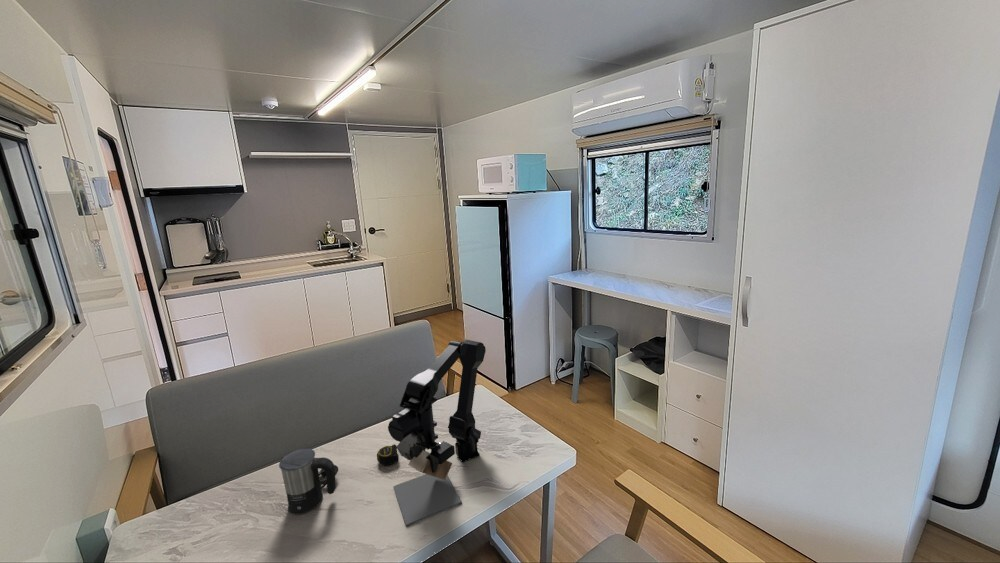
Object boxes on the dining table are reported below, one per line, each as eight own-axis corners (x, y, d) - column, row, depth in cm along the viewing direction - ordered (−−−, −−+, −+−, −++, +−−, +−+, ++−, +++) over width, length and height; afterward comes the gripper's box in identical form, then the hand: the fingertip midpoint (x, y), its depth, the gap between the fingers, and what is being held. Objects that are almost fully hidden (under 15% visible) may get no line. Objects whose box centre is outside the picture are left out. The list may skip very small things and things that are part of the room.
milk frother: (286, 520, 105) (277, 474, 102) (290, 483, 119) (282, 441, 116) (341, 501, 111) (334, 457, 108) (339, 468, 125) (332, 428, 122)
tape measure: (399, 464, 126) (398, 454, 125) (377, 469, 124) (376, 459, 123) (398, 451, 132) (397, 442, 131) (377, 456, 130) (376, 447, 129)
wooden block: (441, 457, 120) (416, 447, 111) (452, 463, 117) (428, 453, 108) (433, 473, 118) (408, 464, 109) (444, 480, 115) (419, 471, 106)
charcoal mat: (443, 469, 122) (443, 467, 122) (461, 503, 108) (461, 501, 108) (393, 487, 115) (393, 486, 115) (406, 526, 101) (405, 524, 101)
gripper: (379, 424, 108) (386, 471, 112) (423, 448, 97) (428, 500, 100) (410, 406, 117) (415, 450, 120) (454, 426, 105) (458, 475, 109)
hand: (428, 468), depth 112 cm, fingers closed on wooden block, 5 cm apart
